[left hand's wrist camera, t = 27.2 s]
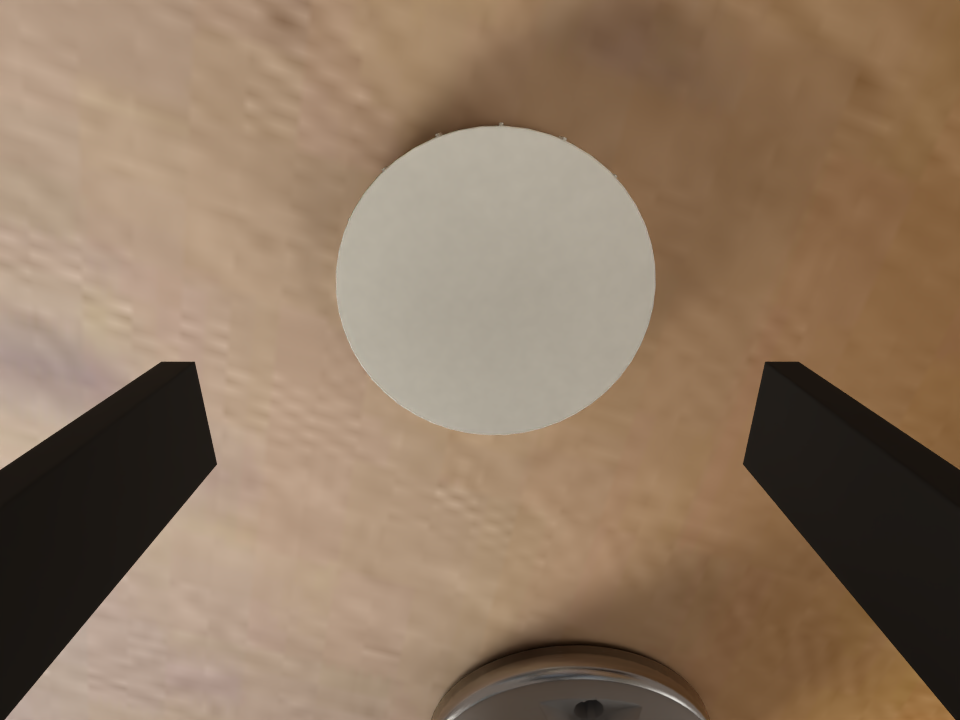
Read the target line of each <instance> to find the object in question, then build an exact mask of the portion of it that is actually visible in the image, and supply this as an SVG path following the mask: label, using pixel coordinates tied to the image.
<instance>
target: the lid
mask: <svg viewBox="0 0 960 720" xmlns="http://www.w3.org/2000/svg"><path fill="white" fill-rule="evenodd" d="M435 136H436V137H435V138H433V139H431V140H429V141H427V142H425V143H423V144H421V145H419V146H417V147H414V148H413V149H411V150H410V151H409V152H407V153H406V154H404V155H403V156H401V157H400V158H398V159H397V160H395V161H394V162H393V163H392V164H391V165H389V166H387V167H384V168H383V169H382V171H383V172H382V173H381V174H380V175H379V176H378V177H377V178H376V179H375V181H374V182H373V183H372V184H371V185H370V187H369V188H368V189H367V190H366V191H365V193H364V194H363V196H362V197H361V199H360V201H359V202H358V204H357V206H356V207H355V209H354V210H353V212H352V215H351V217H350V218H349V219H348V221H349V222H348V224H347V226H346V228H345V231H344V234H343V238H342V241H341V245H340V249H339V253H338V260H337V268H336V295H337V302H338V310H339V314H340V318H341V322H342V325H343V329H344V332H345V334H346V337H347V339H348V341H349V344H350V346H351V348H352V350H353V352H354V354H355V355H356V357H357V359H358V360H359V362H360V364H361V366H362V367H363V368H364V369H365V371H366V372H367V373H368V375H369V376H370V377H371V379H372V380H373V381H374V382H375V383H376V384H377V385H378V386H379V387H380V388H381V389H382V390H383V391H384V392H385V393H386V394H387V395H388V396H389V397H391V398H392V399H393V400H394V401H396V402H397V403H398V404H399V405H401V406H402V407H404V408H405V409H407V410H409V411H410V412H412V413H413V414H415V415H417V416H419V417H421V418H423V419H425V420H427V421H429V422H431V423H434V424H437V425H440V426H443V427H445V428H448V429H452V430H456V431H461V432H466V433H472V434H482V435H508V434H516V433H524V432H528V431H533V430H537V429H541V428H544V427H547V426H550V425H552V424H555V423H558V422H560V421H562V420H564V419H566V418H568V417H570V416H572V415H574V414H576V413H578V412H579V411H581V410H583V409H584V408H586V407H587V406H589V405H590V404H592V403H593V402H594V401H595V400H597V399H598V398H599V397H600V396H601V395H603V394H604V393H605V392H606V391H607V390H608V389H609V388H610V387H611V386H612V385H613V384H614V383H615V382H616V381H617V380H618V379H619V377H620V376H621V375H622V374H623V372H624V371H625V369H626V368H627V367H628V365H629V364H630V363H631V361H632V359H633V358H634V356H635V354H636V352H637V350H638V349H639V347H640V345H641V343H642V340H643V338H644V335H645V333H646V330H647V328H648V325H649V321H650V317H651V313H652V309H653V304H654V295H655V287H656V283H655V262H654V256H653V249H652V244H651V241H650V238H649V234H648V231H647V227H646V225H645V223H644V220H643V218H642V216H641V214H640V212H639V210H638V208H637V206H636V204H635V203H634V201H633V200H632V198H631V197H630V195H629V194H628V192H627V191H626V189H625V188H624V186H623V185H622V184H621V183H620V182H619V181H618V180H617V176H616V175H615V174H613V173H611V172H610V171H609V170H608V169H607V168H606V167H605V166H603V165H602V164H601V163H600V162H599V161H597V160H596V159H595V158H594V157H593V156H591V155H590V154H588V153H586V152H585V151H583V150H582V149H580V148H578V147H577V146H575V145H573V144H572V143H569V142H567V141H566V139H567V138H565V137H561V136H559V137H555V136H553V135H551V134H547V133H543V132H540V131H536V130H532V129H528V128H520V127H512V126H503V123H501V122H500V123H499V126H479V127H473V128H467V129H462V130H457V131H454V132H450V133H447V134H444V135H442V133H438V134H435Z"/></svg>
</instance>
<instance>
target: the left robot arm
mask: <svg viewBox="0 0 960 720" xmlns="http://www.w3.org/2000/svg"><path fill="white" fill-rule="evenodd" d="M216 465H217V462H216V457H215V453H214V448H213V444H212V439H211V434H210V430H209V425H208V421H207V416H206V411H205V407H204V402H203V397H202V393H201V388H200V384H199V379H198V374H197V370H196V365H195V362H160V363H159V364H157V365H156V366H154V367H153V368H152V369H150V370H149V371H147V372H146V373H144V374H143V375H141V376H140V377H138V378H137V379H135V380H134V381H132V382H131V383H129V384H128V385H126V386H125V387H123V388H122V389H120V390H119V391H117V392H116V393H114V394H113V395H111V396H110V397H108V398H107V399H105V400H104V401H102V402H101V403H99V404H98V405H96V406H95V407H93V408H92V409H90V410H89V411H87V412H86V413H84V414H83V415H81V416H80V417H79V418H77V419H76V420H74V421H73V422H71V423H70V424H68V425H67V426H65V427H64V428H62V429H61V430H59V431H58V432H56V433H55V434H53V435H52V436H50V437H49V438H47V439H46V440H44V441H43V442H41V443H40V444H38V445H37V446H35V447H34V448H32V449H31V450H29V451H28V452H26V453H25V454H23V455H22V456H20V457H19V458H17V459H16V460H14V461H13V462H11V463H10V464H8V465H7V466H6V467H4V468H3V469H1V470H0V720H5V719H6V717H7V716H8V715H9V714H10V712H11V711H12V710H13V709H14V708H15V706H16V705H17V704H18V703H19V702H20V700H21V699H22V698H23V697H24V696H25V694H26V693H27V692H28V691H29V690H30V688H31V687H32V686H33V685H34V684H35V682H36V681H37V680H38V679H39V678H40V676H41V675H42V674H43V673H44V672H45V670H46V669H47V668H48V667H49V666H50V664H51V663H52V662H53V661H54V660H55V658H56V657H57V656H58V655H59V654H60V652H61V651H62V650H63V649H64V648H65V646H66V645H67V644H68V643H69V642H70V640H71V639H72V638H73V637H74V636H75V634H76V633H77V632H78V631H79V630H80V628H81V627H82V626H83V625H84V624H85V622H86V621H87V620H88V619H89V618H90V616H91V615H92V614H93V613H94V611H95V610H96V609H97V608H98V607H99V605H100V604H101V603H102V602H103V601H104V599H105V598H106V597H107V596H108V595H109V593H110V592H111V591H112V590H113V589H114V587H115V586H116V585H117V584H118V583H119V581H120V580H121V579H122V578H123V577H124V575H125V574H126V573H127V572H128V571H129V569H130V568H131V567H132V566H133V565H134V563H135V562H136V561H137V560H138V559H139V557H140V556H141V555H142V554H143V553H144V551H145V550H146V549H147V548H148V547H149V545H150V544H151V543H152V542H153V541H154V539H155V538H156V537H157V536H158V535H159V533H160V532H161V531H162V530H163V529H164V527H165V526H166V525H167V524H168V523H169V521H170V520H171V519H172V518H173V517H174V515H175V514H176V513H177V512H178V511H179V509H180V508H181V507H182V506H183V504H184V503H185V502H186V501H187V500H188V498H189V497H190V496H191V495H192V494H193V492H194V491H195V490H196V489H197V488H198V486H199V485H200V484H201V483H202V482H203V480H204V479H205V478H206V477H207V476H208V474H209V473H210V472H211V471H212V470H213V468H214V467H215V466H216ZM743 465H744V466H745V467H746V468H747V470H748V471H749V472H750V473H751V474H752V476H753V477H754V478H755V479H756V480H757V482H758V483H759V484H760V485H761V486H762V488H763V489H764V490H765V491H766V492H767V494H768V495H769V496H770V497H771V498H772V500H773V501H774V502H775V503H776V504H777V506H778V507H779V508H780V509H781V511H782V512H783V513H784V514H785V515H786V517H787V518H788V519H789V520H790V521H791V523H792V524H793V525H794V526H795V527H796V529H797V530H798V531H799V532H800V533H801V535H802V536H803V537H804V538H805V539H806V541H807V542H808V543H809V544H810V545H811V547H812V548H813V549H814V550H815V551H816V553H817V554H818V555H819V556H820V557H821V559H822V560H823V561H824V562H825V563H826V565H827V566H828V567H829V568H830V569H831V571H832V572H833V573H834V574H835V575H836V577H837V578H838V579H839V580H840V581H841V583H842V584H843V585H844V586H845V587H846V589H847V590H848V591H849V592H850V593H851V595H852V596H853V597H854V598H855V599H856V601H857V602H858V603H859V604H860V605H861V607H862V608H863V609H864V610H865V612H866V613H867V614H868V615H869V616H870V618H871V619H872V620H873V621H874V622H875V624H876V625H877V626H878V627H879V628H880V630H881V631H882V632H883V633H884V634H885V636H886V637H887V638H888V639H889V640H890V642H891V643H892V644H893V645H894V646H895V648H896V649H897V650H898V651H899V652H900V654H901V655H902V656H903V657H904V658H905V660H906V661H907V662H908V663H909V664H910V666H911V667H912V668H913V669H914V670H915V672H916V673H917V674H918V675H919V676H920V678H921V679H922V680H923V681H924V682H925V684H926V685H927V686H928V687H929V688H930V690H931V691H932V692H933V693H934V694H935V696H936V697H937V698H938V699H939V700H940V702H941V703H942V704H943V705H944V706H945V708H946V709H947V710H948V711H949V712H950V714H951V715H952V716H953V717H954V719H955V720H960V470H959V469H957V468H956V467H954V466H953V465H952V464H950V463H949V462H947V461H946V460H944V459H943V458H941V457H940V456H938V455H937V454H935V453H934V452H932V451H931V450H929V449H928V448H926V447H925V446H923V445H922V444H920V443H919V442H917V441H916V440H914V439H913V438H911V437H910V436H908V435H907V434H905V433H904V432H902V431H901V430H899V429H898V428H896V427H895V426H893V425H892V424H890V423H889V422H887V421H886V420H884V419H883V418H881V417H880V416H879V415H877V414H876V413H874V412H873V411H871V410H870V409H868V408H867V407H865V406H864V405H862V404H861V403H859V402H858V401H856V400H855V399H853V398H852V397H850V396H849V395H847V394H846V393H844V392H843V391H841V390H840V389H838V388H837V387H835V386H834V385H832V384H831V383H829V382H828V381H826V380H825V379H823V378H822V377H820V376H819V375H817V374H816V373H814V372H813V371H811V370H810V369H808V368H807V367H806V366H804V365H803V364H801V363H800V362H765V365H764V370H763V374H762V379H761V384H760V388H759V393H758V397H757V402H756V407H755V411H754V416H753V421H752V425H751V430H750V434H749V439H748V444H747V448H746V453H745V457H744V462H743ZM431 720H710V719H709V716H708V713H707V711H706V708H705V706H704V703H703V702H702V700H701V698H700V697H699V695H698V694H697V692H696V691H695V690H694V689H693V688H692V686H691V685H690V684H688V683H687V682H686V681H685V680H684V679H683V678H682V677H680V676H679V675H678V674H677V673H675V672H674V671H672V670H670V669H669V668H667V667H665V666H664V665H662V664H660V663H657V662H655V661H653V660H651V659H648V658H646V657H643V656H640V655H637V654H634V653H630V652H627V651H622V650H618V649H613V648H606V647H598V646H584V645H566V646H552V647H544V648H537V649H532V650H527V651H523V652H519V653H516V654H512V655H509V656H506V657H503V658H500V659H498V660H495V661H493V662H491V663H488V664H486V665H484V666H482V667H480V668H478V669H477V670H475V671H473V672H471V673H470V674H469V675H467V676H466V677H464V678H463V679H461V680H460V681H459V682H458V683H457V684H455V685H454V686H453V687H452V688H451V689H450V690H449V691H448V692H447V693H446V694H445V696H444V697H443V698H442V700H441V701H440V702H439V704H438V706H437V708H436V709H435V711H434V714H433V716H432V719H431Z"/></svg>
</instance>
